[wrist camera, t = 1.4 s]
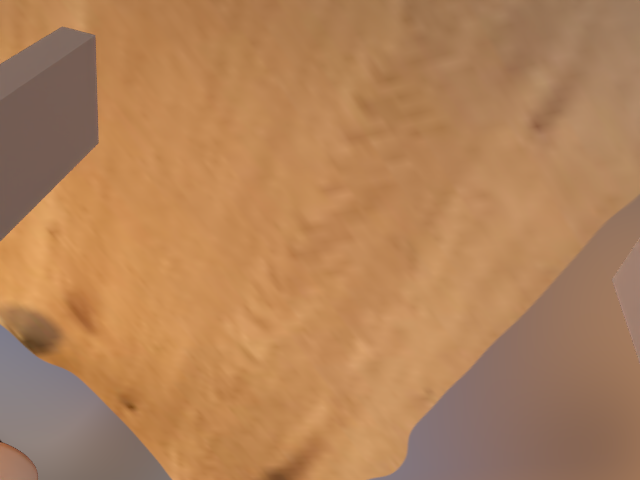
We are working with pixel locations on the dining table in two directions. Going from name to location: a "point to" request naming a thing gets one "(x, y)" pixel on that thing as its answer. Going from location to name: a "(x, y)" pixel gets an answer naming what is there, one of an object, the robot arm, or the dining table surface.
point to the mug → (15, 464)
